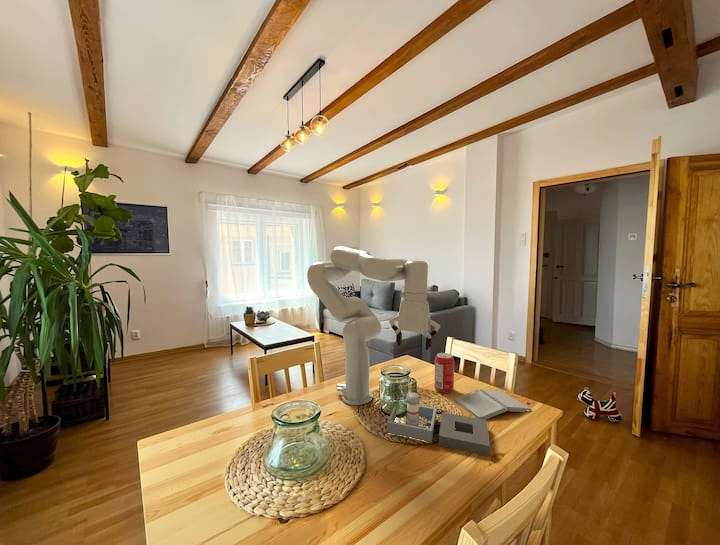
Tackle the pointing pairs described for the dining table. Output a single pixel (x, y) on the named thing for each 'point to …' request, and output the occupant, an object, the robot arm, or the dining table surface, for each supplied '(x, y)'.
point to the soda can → (444, 373)
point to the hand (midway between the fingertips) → (413, 346)
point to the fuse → (412, 409)
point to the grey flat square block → (463, 440)
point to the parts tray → (414, 430)
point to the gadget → (489, 403)
